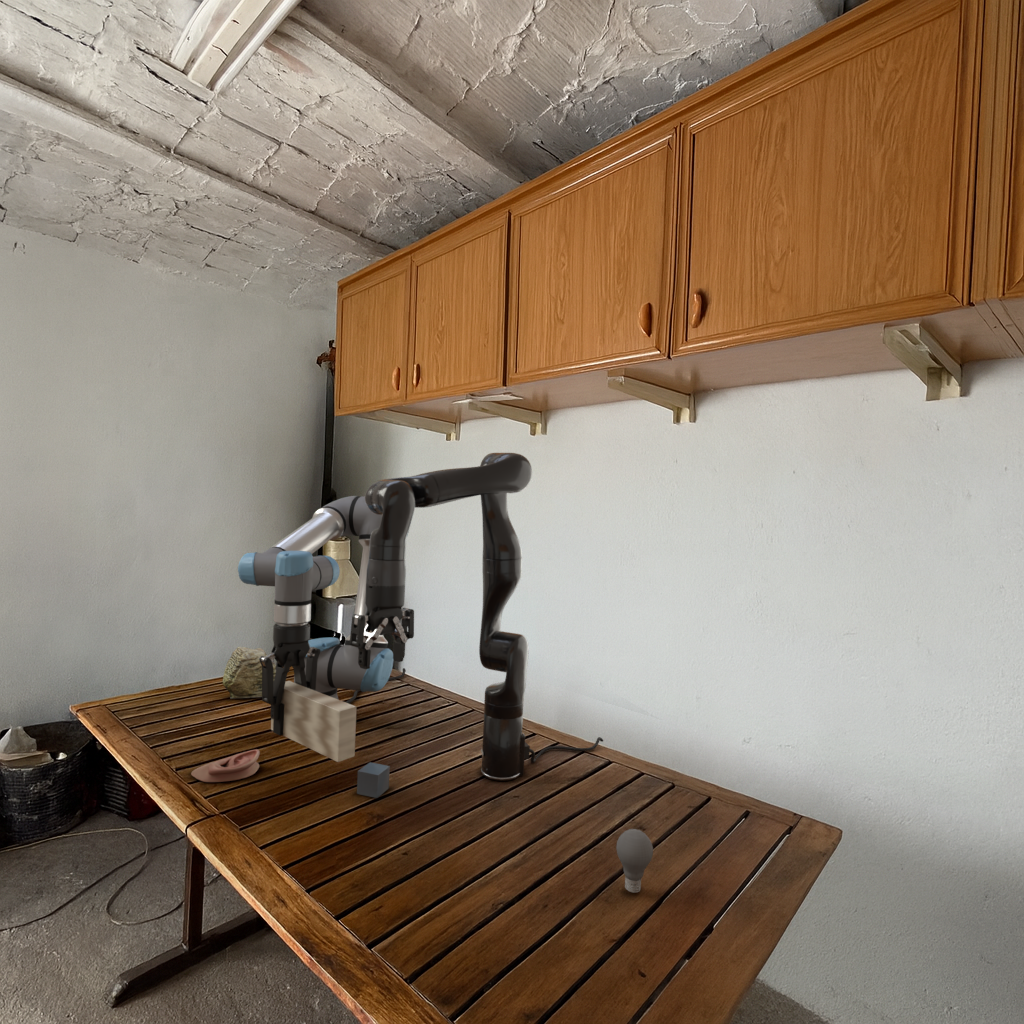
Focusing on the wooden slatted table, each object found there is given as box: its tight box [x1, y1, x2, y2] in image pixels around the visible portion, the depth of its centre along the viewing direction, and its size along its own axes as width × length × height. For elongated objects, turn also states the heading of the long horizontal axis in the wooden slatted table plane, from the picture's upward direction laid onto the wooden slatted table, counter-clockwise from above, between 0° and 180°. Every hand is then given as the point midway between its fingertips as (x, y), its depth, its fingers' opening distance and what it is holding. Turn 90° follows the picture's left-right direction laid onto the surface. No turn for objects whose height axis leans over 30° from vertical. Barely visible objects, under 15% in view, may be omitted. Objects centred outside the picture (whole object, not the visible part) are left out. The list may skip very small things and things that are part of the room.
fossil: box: [222, 646, 276, 699], centre depth 198 cm, size 9×18×15 cm, turn 132°
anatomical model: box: [190, 748, 261, 783], centre depth 143 cm, size 13×4×12 cm
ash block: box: [270, 680, 357, 763], centre depth 131 cm, size 24×4×10 cm, turn 51°
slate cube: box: [356, 761, 391, 799], centre depth 137 cm, size 5×5×5 cm
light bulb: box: [615, 828, 654, 894], centre depth 106 cm, size 6×6×10 cm
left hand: (288, 730), depth 137 cm, fingers closed on ash block, 4 cm apart
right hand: (381, 664), depth 124 cm, fingers open, 8 cm apart
